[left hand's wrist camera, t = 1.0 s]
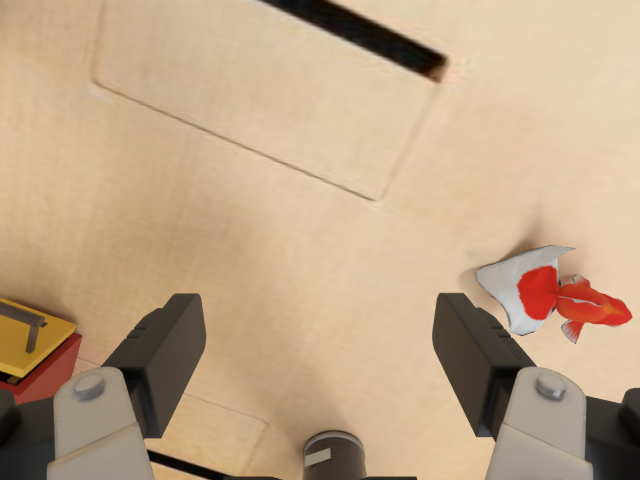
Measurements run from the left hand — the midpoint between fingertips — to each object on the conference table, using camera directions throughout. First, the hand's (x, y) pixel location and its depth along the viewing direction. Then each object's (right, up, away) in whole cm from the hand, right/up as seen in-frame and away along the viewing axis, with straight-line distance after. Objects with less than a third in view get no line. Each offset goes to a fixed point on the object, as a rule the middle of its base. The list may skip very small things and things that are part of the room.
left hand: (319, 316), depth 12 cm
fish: (+26, -2, +30) cm, 40 cm away
